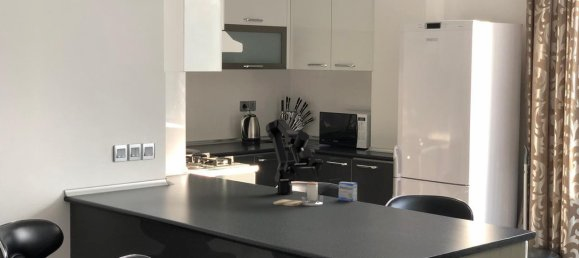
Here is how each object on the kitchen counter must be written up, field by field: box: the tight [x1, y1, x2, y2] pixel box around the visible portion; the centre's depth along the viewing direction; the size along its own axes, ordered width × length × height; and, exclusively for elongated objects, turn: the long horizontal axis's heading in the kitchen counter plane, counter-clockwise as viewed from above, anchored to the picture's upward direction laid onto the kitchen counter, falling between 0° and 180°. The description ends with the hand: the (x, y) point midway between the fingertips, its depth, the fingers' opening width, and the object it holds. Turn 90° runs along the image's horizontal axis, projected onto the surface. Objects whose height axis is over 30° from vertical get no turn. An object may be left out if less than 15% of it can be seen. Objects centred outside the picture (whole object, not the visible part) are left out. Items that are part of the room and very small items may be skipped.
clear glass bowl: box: [301, 195, 324, 207], centre depth 374 cm, size 10×10×4 cm
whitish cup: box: [306, 181, 319, 201], centre depth 374 cm, size 5×5×8 cm
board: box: [273, 198, 302, 207], centre depth 375 cm, size 11×9×1 cm
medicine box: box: [338, 181, 358, 202], centre depth 385 cm, size 8×4×9 cm, turn 62°
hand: (308, 179), depth 377 cm, fingers open, 9 cm apart
